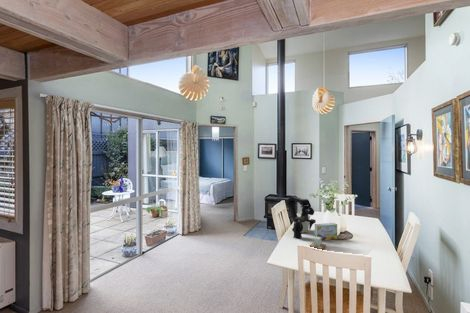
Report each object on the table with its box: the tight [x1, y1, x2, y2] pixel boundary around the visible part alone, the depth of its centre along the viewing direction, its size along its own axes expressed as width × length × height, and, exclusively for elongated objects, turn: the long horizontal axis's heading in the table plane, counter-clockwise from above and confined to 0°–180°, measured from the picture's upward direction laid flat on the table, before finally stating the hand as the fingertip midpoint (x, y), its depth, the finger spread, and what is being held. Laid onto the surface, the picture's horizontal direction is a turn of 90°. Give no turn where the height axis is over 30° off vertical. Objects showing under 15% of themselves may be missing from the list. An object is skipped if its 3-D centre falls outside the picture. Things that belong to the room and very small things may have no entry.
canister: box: [296, 211, 311, 234], centre depth 269 cm, size 18×18×21 cm
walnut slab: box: [309, 241, 327, 251], centre depth 224 cm, size 11×11×3 cm
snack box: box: [314, 222, 338, 241], centre depth 244 cm, size 21×6×15 cm, turn 101°
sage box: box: [313, 236, 323, 246], centre depth 224 cm, size 5×5×7 cm
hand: (305, 229), depth 239 cm, fingers open, 9 cm apart
